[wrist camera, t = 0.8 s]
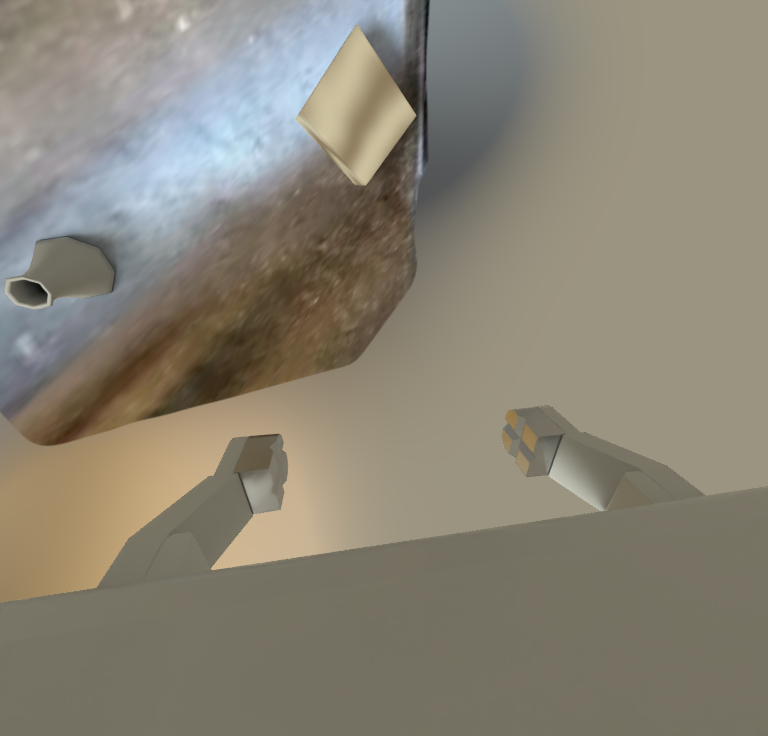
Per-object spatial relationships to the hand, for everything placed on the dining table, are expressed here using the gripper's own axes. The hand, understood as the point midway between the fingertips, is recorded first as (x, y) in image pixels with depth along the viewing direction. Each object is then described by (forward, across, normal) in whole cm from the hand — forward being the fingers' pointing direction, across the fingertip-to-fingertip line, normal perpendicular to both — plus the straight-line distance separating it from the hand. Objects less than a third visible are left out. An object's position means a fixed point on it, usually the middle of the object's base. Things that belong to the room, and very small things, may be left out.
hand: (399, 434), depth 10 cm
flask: (+34, +33, -2) cm, 47 cm away
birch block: (+41, -1, -18) cm, 44 cm away
